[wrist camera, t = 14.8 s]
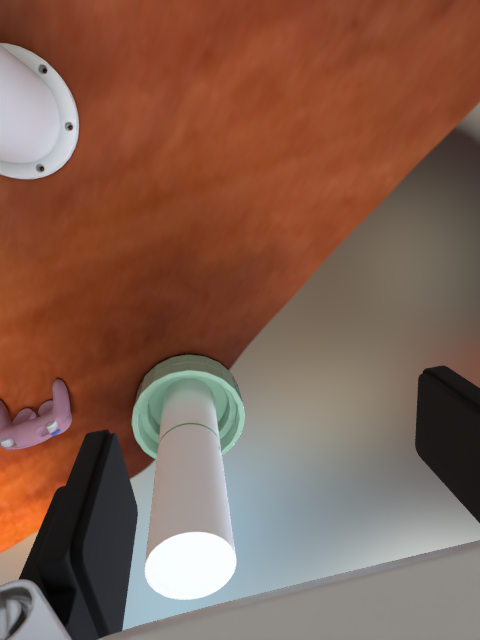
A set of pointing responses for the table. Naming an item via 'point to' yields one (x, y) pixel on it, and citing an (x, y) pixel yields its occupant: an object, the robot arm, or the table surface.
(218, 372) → the bowl
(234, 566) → the cylindrical container
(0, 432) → the video game controller
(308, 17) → the table surface
